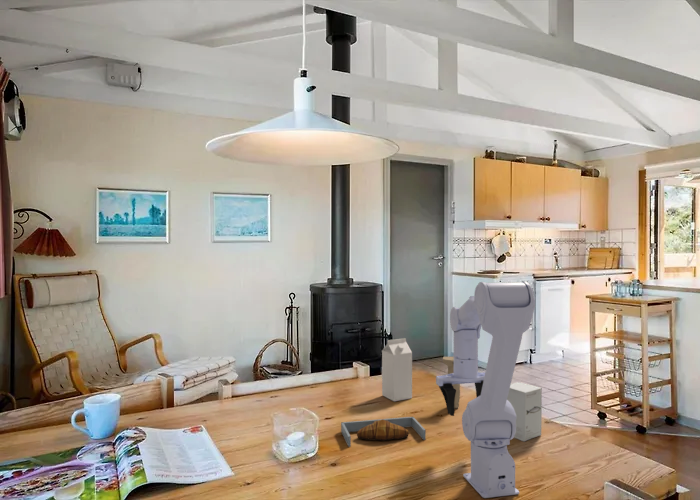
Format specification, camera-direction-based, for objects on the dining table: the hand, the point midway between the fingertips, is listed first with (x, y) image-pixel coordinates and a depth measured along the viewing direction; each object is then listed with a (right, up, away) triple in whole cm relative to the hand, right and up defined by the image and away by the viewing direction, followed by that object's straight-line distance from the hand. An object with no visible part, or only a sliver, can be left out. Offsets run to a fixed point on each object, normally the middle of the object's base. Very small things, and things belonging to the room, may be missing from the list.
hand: (465, 413), depth 116 cm
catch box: (-20, -9, +10) cm, 24 cm away
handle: (+4, -9, +31) cm, 32 cm away
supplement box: (+17, -9, +10) cm, 22 cm away
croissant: (-20, -10, +8) cm, 23 cm away
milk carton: (-13, -9, +41) cm, 44 cm away
